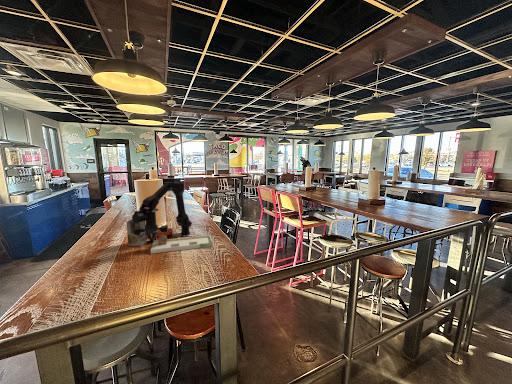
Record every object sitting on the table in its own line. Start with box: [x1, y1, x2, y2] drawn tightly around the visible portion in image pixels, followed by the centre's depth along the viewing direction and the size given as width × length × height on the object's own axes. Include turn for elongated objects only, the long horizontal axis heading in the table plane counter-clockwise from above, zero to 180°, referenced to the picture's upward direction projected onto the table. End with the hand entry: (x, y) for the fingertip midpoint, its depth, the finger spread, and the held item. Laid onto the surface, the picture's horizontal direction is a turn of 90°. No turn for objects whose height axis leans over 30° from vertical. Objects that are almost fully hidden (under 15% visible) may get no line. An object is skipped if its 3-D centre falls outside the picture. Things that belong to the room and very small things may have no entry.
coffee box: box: [126, 219, 148, 247], centre depth 137 cm, size 9×6×16 cm
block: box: [157, 235, 168, 245], centre depth 133 cm, size 4×4×4 cm
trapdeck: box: [150, 234, 213, 255], centre depth 135 cm, size 12×36×4 cm, turn 109°
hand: (152, 243), depth 131 cm, fingers closed
